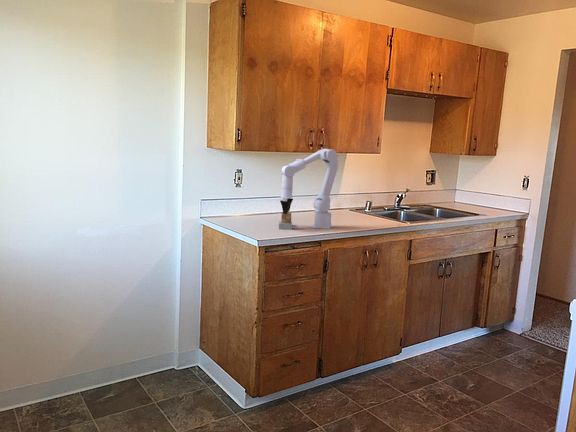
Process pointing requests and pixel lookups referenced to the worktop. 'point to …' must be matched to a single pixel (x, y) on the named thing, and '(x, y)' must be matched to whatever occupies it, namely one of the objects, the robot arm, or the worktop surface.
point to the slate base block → (285, 226)
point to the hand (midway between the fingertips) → (286, 212)
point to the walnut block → (286, 218)
